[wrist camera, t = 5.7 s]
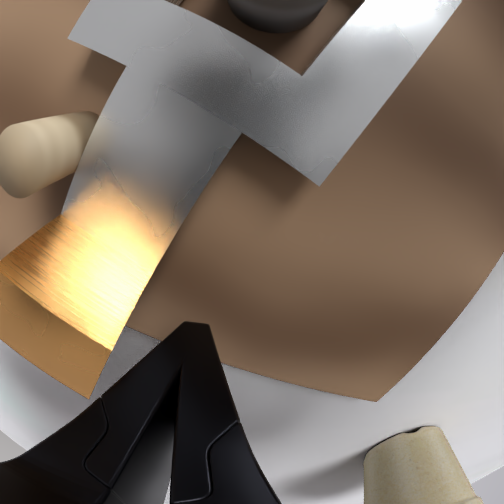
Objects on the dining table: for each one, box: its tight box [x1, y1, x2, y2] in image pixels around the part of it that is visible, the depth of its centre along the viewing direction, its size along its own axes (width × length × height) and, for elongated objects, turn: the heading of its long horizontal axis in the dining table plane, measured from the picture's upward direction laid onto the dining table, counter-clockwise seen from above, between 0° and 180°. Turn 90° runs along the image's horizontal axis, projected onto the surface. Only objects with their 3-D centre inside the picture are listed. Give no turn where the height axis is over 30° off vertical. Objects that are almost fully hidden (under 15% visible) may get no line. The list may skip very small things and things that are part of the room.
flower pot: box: [363, 426, 483, 504], centre depth 13 cm, size 9×9×9 cm
